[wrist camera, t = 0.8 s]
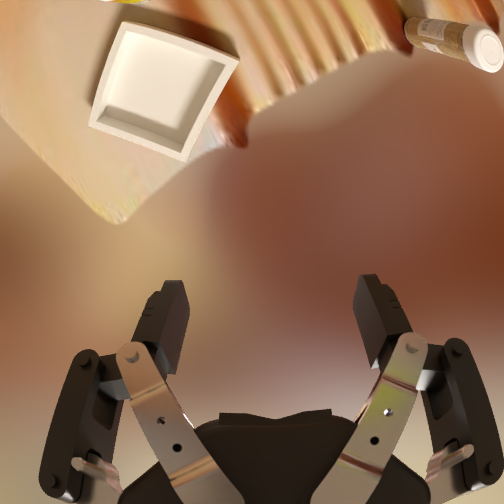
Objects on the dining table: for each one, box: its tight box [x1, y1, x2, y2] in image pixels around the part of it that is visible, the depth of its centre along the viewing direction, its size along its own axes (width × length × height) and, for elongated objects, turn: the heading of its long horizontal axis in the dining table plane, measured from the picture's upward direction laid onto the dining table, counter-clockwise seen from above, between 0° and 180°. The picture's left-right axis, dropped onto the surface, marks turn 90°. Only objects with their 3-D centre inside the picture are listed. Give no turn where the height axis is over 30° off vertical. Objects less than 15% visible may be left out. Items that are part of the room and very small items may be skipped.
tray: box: [88, 21, 240, 162], centre depth 26 cm, size 14×14×3 cm
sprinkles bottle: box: [404, 17, 504, 72], centre depth 15 cm, size 5×5×13 cm
